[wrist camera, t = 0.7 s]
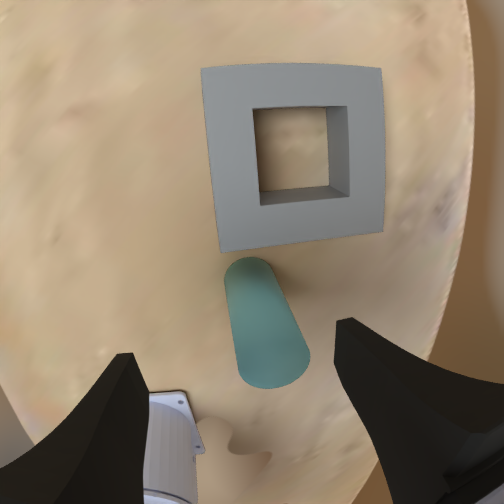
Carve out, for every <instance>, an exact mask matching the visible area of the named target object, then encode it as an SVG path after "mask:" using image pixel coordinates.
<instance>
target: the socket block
mask: <svg viewBox="0 0 504 504" xmlns="http://www.w3.org/2000/svg"><path fill="white" fill-rule="evenodd" d="M201 81H202V93H203V103H204V114H205V124H206V134H207V143H208V153H209V162H210V171H211V180H212V189H213V197H214V206H215V214H216V222H217V230H218V238H219V245H220V251H221V253H224V252H232V251H239V250H247V249H254V248H262V247H269V246H277V245H285V244H292V243H300V242H307V241H315V240H323V239H330V238H338V237H346V236H353V235H361V234H369V233H377V232H383V224H384V203H385V119H384V99H383V84H382V72H381V68H374V67H364V66H353V65H338V64H316V63H266V64H244V65H230V66H218V67H208V68H201ZM283 108H326V117H327V135H328V158H329V186H320V187H308V188H297V189H287V190H277V191H267V192H259V184H258V172H257V159H256V147H255V135H254V123H253V111H252V110H264V109H283Z"/></svg>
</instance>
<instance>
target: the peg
mask: <svg viewBox="0 0 504 504" xmlns="http://www.w3.org/2000/svg"><path fill="white" fill-rule="evenodd" d="M224 284H225V290H226V297H227V303H228V310H229V316H230V322H231V328H232V335H233V341H234V347H235V353H236V359H237V364H238V370H239V374H240V376H241V377H242V379H243V380H244V381H245V382H247V383H248V384H250V385H252V386H254V387H257V388H263V389H272V388H278V387H282V386H285V385H287V384H290V383H292V382H293V381H295V380H296V379H298V378H299V377H300V376H301V375H302V374H303V373H304V372H305V370H306V369H307V367H308V365H309V362H310V351H309V349H308V346H307V344H306V342H305V340H304V338H303V336H302V333H301V331H300V329H299V327H298V325H297V322H296V320H295V318H294V316H293V314H292V312H291V310H290V307H289V305H288V303H287V301H286V299H285V297H284V294H283V292H282V290H281V288H280V286H279V284H278V281H277V279H276V277H275V275H274V273H273V271H272V269H271V267H270V266H269V264H268V263H266V262H265V261H263V260H262V259H259V258H255V257H247V258H242V259H240V260H238V261H236V262H234V263H233V264H232V265H231V266H230V267H229V268H228V270H227V272H226V274H225V278H224Z"/></svg>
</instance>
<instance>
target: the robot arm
mask: <svg viewBox="0 0 504 504" xmlns="http://www.w3.org/2000/svg"><path fill="white" fill-rule="evenodd" d="M334 365H335V368H336V370H337V373H338V376H339V378H340V381H341V383H342V386H343V388H344V390H345V391H346V393H347V395H348V397H349V399H350V401H351V402H352V404H353V406H354V408H355V410H356V411H357V413H358V415H359V417H360V419H361V420H362V422H363V424H364V426H365V428H366V429H367V431H368V434H369V436H370V438H371V440H372V442H373V445H374V447H375V450H376V453H377V455H378V458H379V460H380V463H381V466H382V469H383V472H384V475H385V477H386V480H387V484H388V487H389V490H390V493H391V497H392V500H393V504H504V384H498V383H493V382H488V381H483V380H478V379H474V378H470V377H467V376H464V375H461V374H457V373H454V372H451V371H449V370H445V369H443V368H441V367H438V366H436V365H434V364H431V363H429V362H427V361H425V360H423V359H421V358H419V357H417V356H415V355H413V354H411V353H409V352H407V351H405V350H404V349H402V348H400V347H398V346H397V345H395V344H393V343H392V342H390V341H388V340H387V339H385V338H384V337H382V336H381V335H379V334H377V333H376V332H374V331H373V330H371V329H370V328H368V327H367V326H365V325H364V324H362V323H361V322H359V321H357V320H356V319H354V318H352V317H351V318H347V319H342V320H338V321H336V338H335V353H334ZM180 400H182V401H180ZM204 452H205V448H204V445H203V443H202V440H201V437H200V435H199V432H198V429H197V426H196V423H195V420H194V418H193V415H192V412H191V409H190V406H189V403H188V400H187V397H186V395H185V393H183V392H181V391H177V392H165V393H150V394H149V390H148V388H147V386H146V383H145V381H144V379H143V376H142V374H141V372H140V369H139V367H138V364H137V362H136V359H135V357H134V354H133V353H121V354H117V355H116V356H115V357H114V358H113V360H112V361H111V362H110V364H109V365H108V366H107V368H106V369H105V370H104V372H103V373H102V374H101V376H100V377H99V378H98V380H97V381H96V382H95V384H94V385H93V386H92V388H91V389H90V390H89V391H88V393H87V394H86V395H85V396H84V398H83V399H82V400H81V401H80V402H79V403H78V405H77V406H76V407H75V408H74V409H73V411H72V412H71V413H70V414H69V415H68V416H67V417H66V418H65V419H64V420H63V421H62V422H61V423H60V424H59V425H58V426H57V427H56V428H55V429H54V430H53V431H52V432H51V433H50V434H49V435H48V436H46V437H45V438H44V439H43V440H42V441H40V442H39V443H38V444H37V445H36V446H34V447H33V448H32V449H31V450H29V451H28V452H26V453H25V454H23V455H22V456H20V457H19V458H17V459H16V460H14V461H13V462H11V463H9V464H8V465H6V466H4V467H2V468H0V504H197V503H198V492H197V477H196V458H195V455H196V454H203V453H204Z"/></svg>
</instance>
